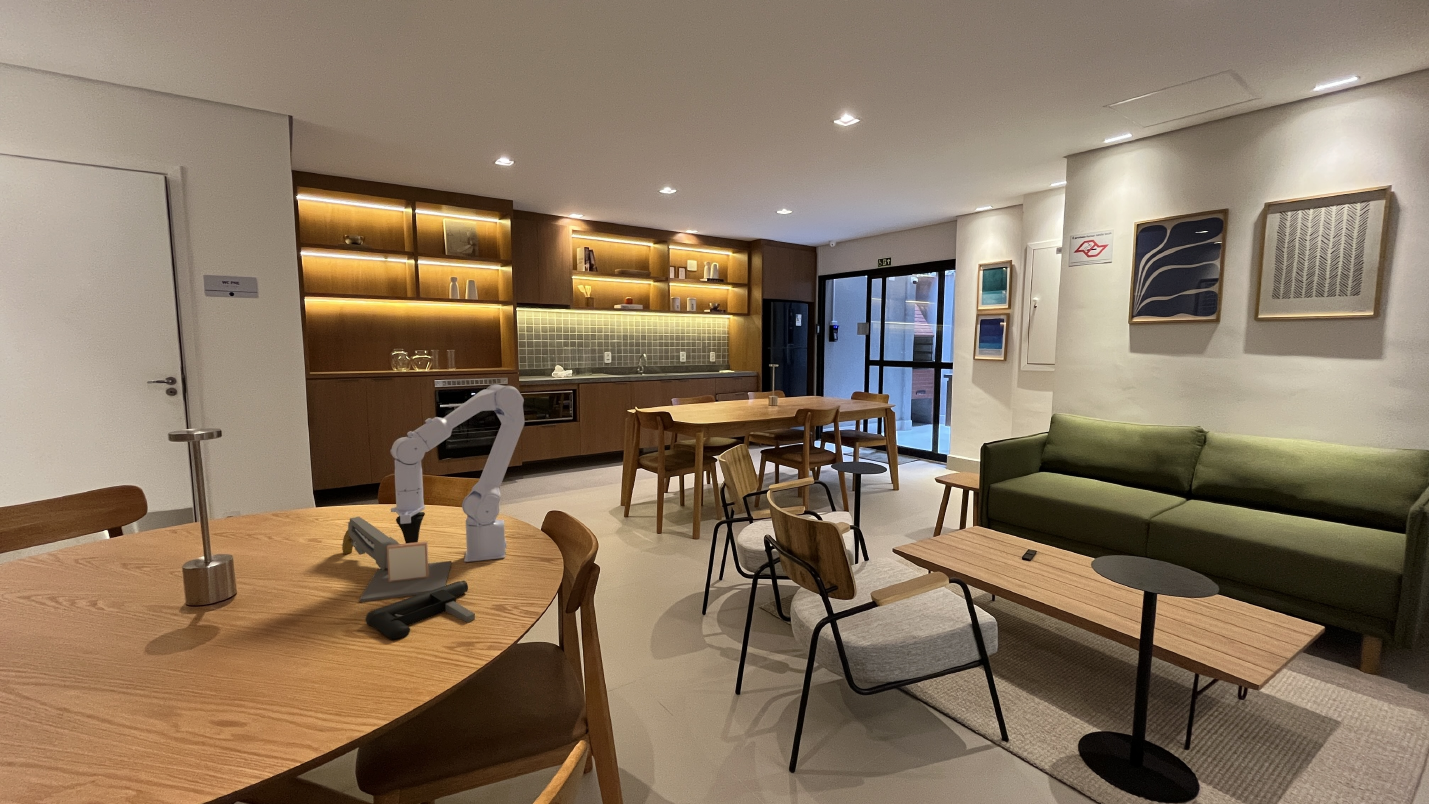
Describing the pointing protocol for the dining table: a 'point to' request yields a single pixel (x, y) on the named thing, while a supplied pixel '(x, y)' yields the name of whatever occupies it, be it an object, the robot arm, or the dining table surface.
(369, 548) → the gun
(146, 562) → the dining table surface
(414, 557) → the tile
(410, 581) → the mat
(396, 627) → the door handle
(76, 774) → the dining table surface
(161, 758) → the dining table surface
